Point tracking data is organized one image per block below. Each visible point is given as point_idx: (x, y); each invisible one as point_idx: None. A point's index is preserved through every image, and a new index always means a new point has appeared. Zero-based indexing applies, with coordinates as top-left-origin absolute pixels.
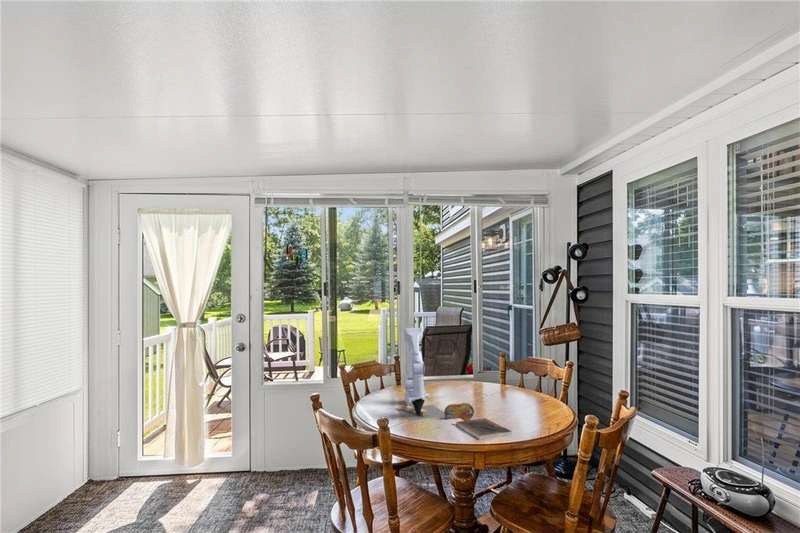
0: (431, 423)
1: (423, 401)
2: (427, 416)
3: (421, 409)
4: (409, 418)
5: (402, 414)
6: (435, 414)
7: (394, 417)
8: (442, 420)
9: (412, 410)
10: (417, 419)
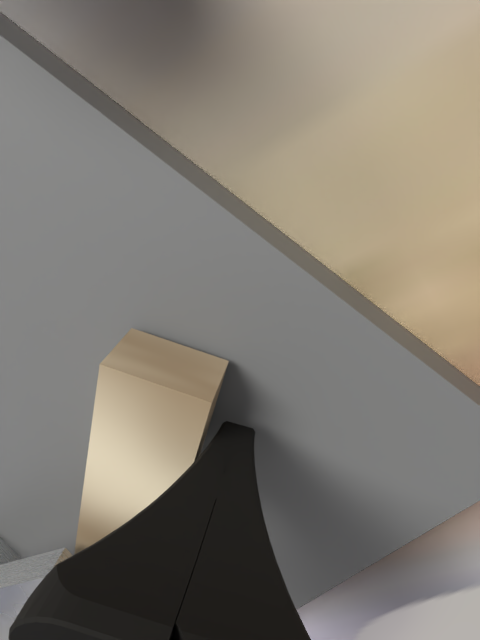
0: (354, 108)
1: (103, 603)
2: (181, 300)
3: (105, 473)
4: (434, 485)
5: (303, 596)
6: (4, 234)
7: (348, 619)
8: (74, 18)
9: None
10: (431, 369)
